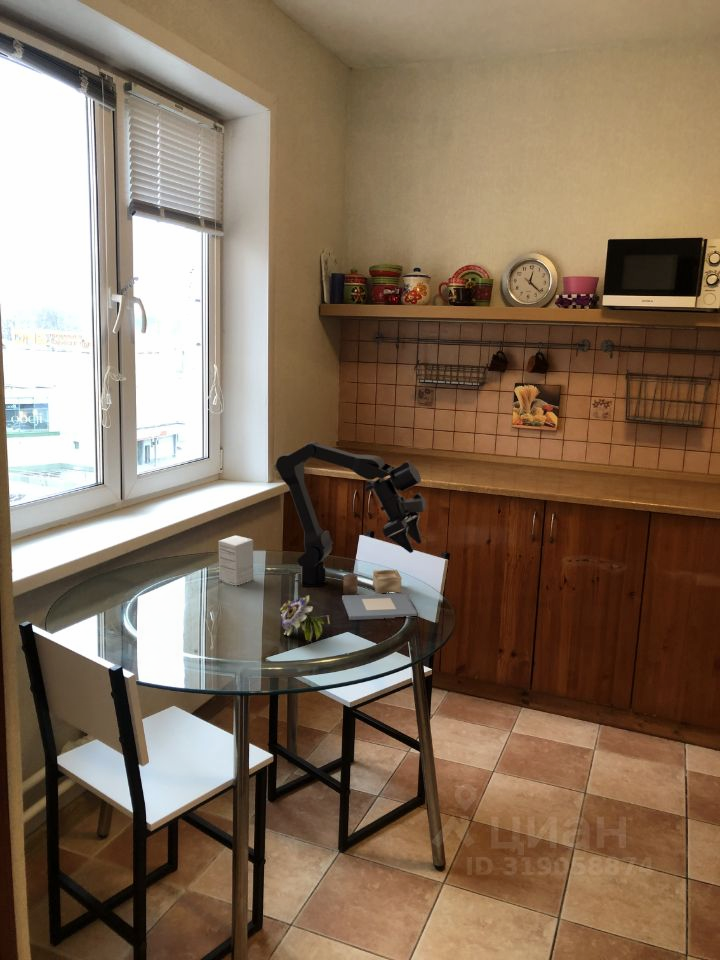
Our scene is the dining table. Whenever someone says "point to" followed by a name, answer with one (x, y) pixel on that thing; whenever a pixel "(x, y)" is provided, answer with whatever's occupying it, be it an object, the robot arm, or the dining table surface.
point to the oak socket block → (386, 581)
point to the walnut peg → (350, 584)
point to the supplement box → (236, 559)
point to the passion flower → (301, 618)
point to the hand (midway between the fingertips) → (416, 547)
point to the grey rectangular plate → (378, 606)
